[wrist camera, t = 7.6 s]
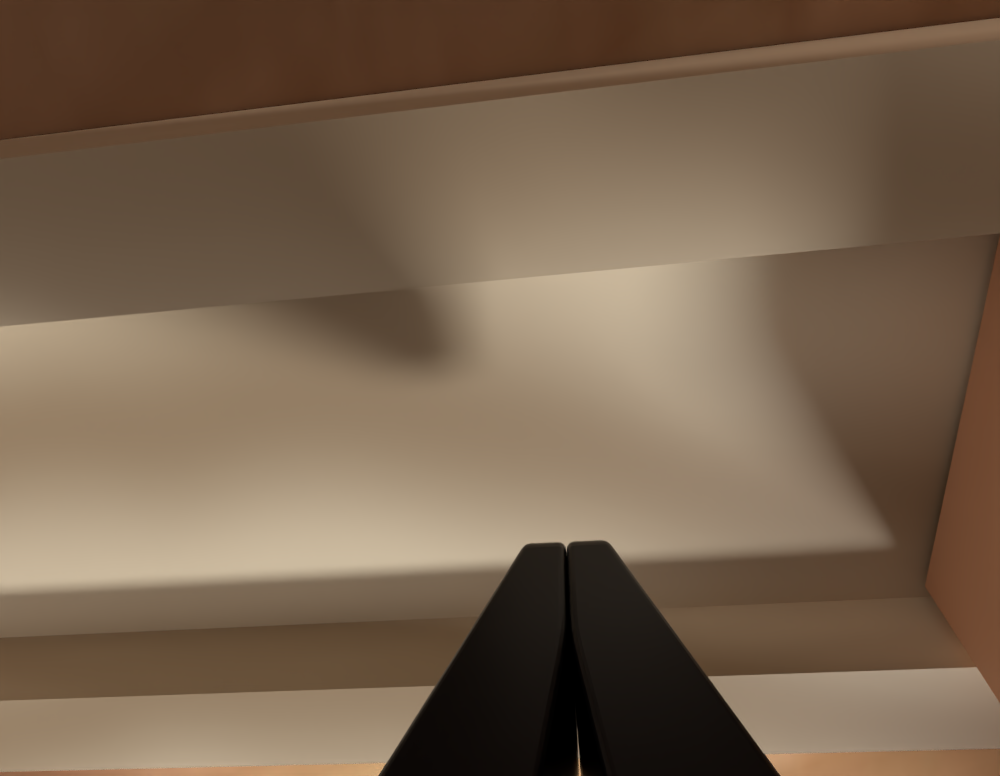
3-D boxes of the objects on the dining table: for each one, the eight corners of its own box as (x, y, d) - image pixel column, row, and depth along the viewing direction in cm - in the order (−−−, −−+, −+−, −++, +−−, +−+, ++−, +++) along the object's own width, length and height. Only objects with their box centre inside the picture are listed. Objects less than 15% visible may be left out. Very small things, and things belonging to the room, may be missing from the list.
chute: (1062, 638, 11) (1148, 745, 9) (34, 676, 13) (-38, 772, 11) (1289, -18, 7) (1510, -22, 5) (-273, 173, 9) (-455, 214, 7)
